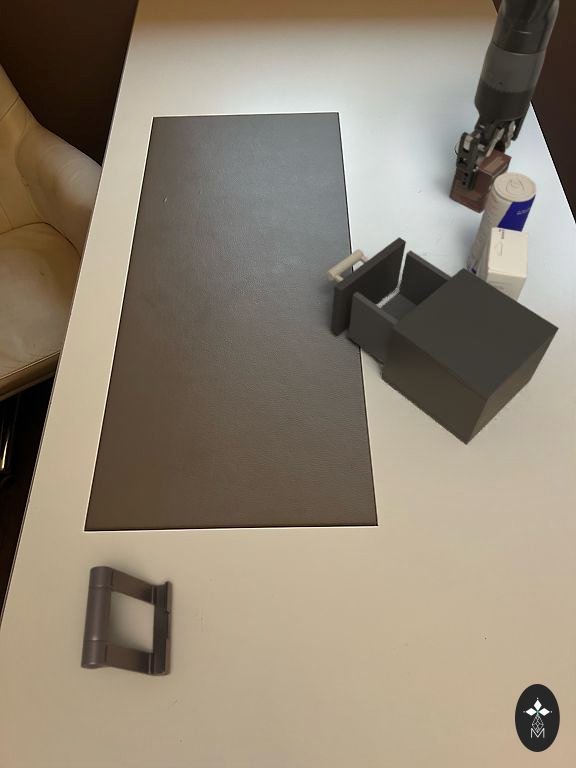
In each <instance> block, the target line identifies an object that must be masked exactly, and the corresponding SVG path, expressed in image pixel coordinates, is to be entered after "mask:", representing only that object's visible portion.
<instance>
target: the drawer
mask: <svg viewBox="0 0 576 768" xmlns="http://www.w3.org/2000/svg"><path fill="white" fill-rule="evenodd" d="M406 244H407V241H406V240H405V239H403V238H401V237H398V238H396V239H395V240H393V241H392V242H391V243H390V244H388V245H386V246H385V247H384V248H383V249H382V250H380V251H379V252H377V253H376V254H375V255H373V256H372V257H371V258H370V259H369V258H367V257H366V256H365V254H364V252H363V250H361V249H358V248H357V249H356V250H355V251H354V252H352V253H351V254H349V255H347V257H345V258H344V259H342V260H341V261H340V262H338V263H337V264H336V265H334V266H333V267H331V268H330V269H329V270H327V271H326V273H325V275H326V278H327V280H329V281H331V282H333V281H336V282H337V283H336V284H335V285H334V286H333V299H332V311H331V312H332V314H331V315H332V316H331V326H330V329H331V330H330V331H331V332H332V333H333V334H335V335H336V336H339V335H340V334H341V333H342V332H344V331H345V330H347V328H348V334H347V336H348V338H349V339H351V340H352V341H353V342H354V343H356V344H357V345H358V346H359V347H361V348H362V349H363V350H365V351H366V352H367V353H368V354H370V355H371V356H373V357H374V358H376V359H377V360H378V361H379V362H381V364H383V365H385V360H386V355H387V350H388V345H389V340H390V335H391V329H392V327H393V326H394V325H395V324H396V323H397V322H399V321H400V320H401V319H402V318H404V317H405V316H406V315H407V314H408V313H410V312H411V311H412V310H413V309H414V308H416V307H417V306H418V305H419V304H420V303H422V302H423V301H424V300H425V299H426V298H428V297H429V296H430V295H431V294H432V293H434V292H435V291H436V290H437V289H438V288H440V287H441V286H442V285H443V284H444V283H446V282H447V281H448V280H449V279H450V278H452V277H453V276H451V275H450V274H448V273H446V272H445V271H443V270H441V268H439V267H437V266H436V265H434V264H433V263H431V262H429V261H428V260H426V259H425V258H423V257H422V256H420V255H418V254H417V253H415V252H414V251H412V250H409V251H407V252H406V254H405V249H406ZM404 255H405V259H404ZM403 259H404V263H403ZM359 262H361V263H362V264H361V265H360V266H358V267H357V268H356V269H354V270H353V271H352V272H351V273H349V274H348V275H346V276H345V277H342V275H343V274H344V273H345V272H347V271H348V270H350V269H351V268H352V267H353V266H355V265H356V264H357V263H359ZM403 264H404V265H403ZM402 265H403V269H402ZM401 269H402V274H401ZM400 274H401V279H400ZM399 279H400V284H399ZM398 284H399V290H398V293H397V294H396V295H393V297H392V298H390V299H389V300H388V301H386V303H384V304H382V306H378V305H377V304H379V303H380V302H381V301H382V300H384V299H385V298H386V297H387V296H389V295H390V294H391V293H392V292H394V291H395V290H396V289H397V288H398Z"/></svg>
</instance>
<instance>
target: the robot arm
mask: <svg viewBox="0 0 576 768" xmlns="http://www.w3.org/2000/svg"><path fill="white" fill-rule="evenodd" d="M559 8H560V0H501V3H500V6H499V9H498V12H497V15H496V19H495V25H494V27H493V32H492V36H491V39H490V42H489V45H488V47H487V49H486V52H485V56H484V59H483V63H482V66H481V67H482V68H481V72H480V75H479V78H478V83H477V88H476V91H475V95H474V99H473V104H474V107H475V109H476V111H477V113H478V119H477V120H476V123H475V125H474V127H473V131H471V132H470V133H468V132H466V131H464V132H462V133H461V134H460V138H459V144H458V149H457V155H456V160H455V167H457V168H459V169H461V170H463V173H462V176H461V180H460V186H461V187H462V188H464V189H466V190H468V191H471V190H472V189H474V186H475V183H476V179H477V176H478V172H479V168H480V166H481V164H482V162H483V161H484V159H485V158H487V157H489V156H490V154H491V152H492V150H493V149H495V150H498V151H500V152H502V153H504V154H506V150H508V149H509V148H510V146H511V141H512V142H516V140H517V139H518V138H519V135H520V133H521V130H522V127H523V124H524V122H525V121H526V120H525V119H526V116H527V114H528V112H529V110H530V107H531V102H532V100H533V99H532V98H533V96H534V93H535V90H536V86H537V84H538V81H539V77H540V75H541V72H542V69H543V65H544V63H545V57H546V53H547V48H548V44H549V41H550V38H551V35H552V32H553V30H554V27H555V23H556V19H557V17H558V13H559ZM480 144H481V145H483V146H485V147H487V148H486V150H483V149H481V148H479V147H480ZM477 154H478V155H479V157H478V159H477V161H476V156H477ZM475 161H476V162H475Z"/></svg>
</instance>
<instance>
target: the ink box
mask: <svg viewBox="0 0 576 768" xmlns="http://www.w3.org/2000/svg"><path fill="white" fill-rule="evenodd" d="M529 238H530V235H529V232H525V231H522V232H519V231H514V230H508V229H503V228H497V227H495V228H493V227H492V228H491V231H490V234H489V237H488V240H487V243H486V246H485V249H484V252H483V255H482V258H481V260H480V263H479V266H478V269H477V272H476V276H477V277H479V278H480V279H482V280H484V281H485V282H487V283H488V284H490V285H491V286H493V287H495V288H496V289H498V290H499V291H501V292H503V293H504V294H506V295H507V296H509V297H510V298H512V299H514V300H515V301H517V302H518V299H519V297H520V295H521V292H522V290H523V288H524V285H525V283H526V281H527V278H528V264H529V263H528V262H529V243H530V242H529Z"/></svg>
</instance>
